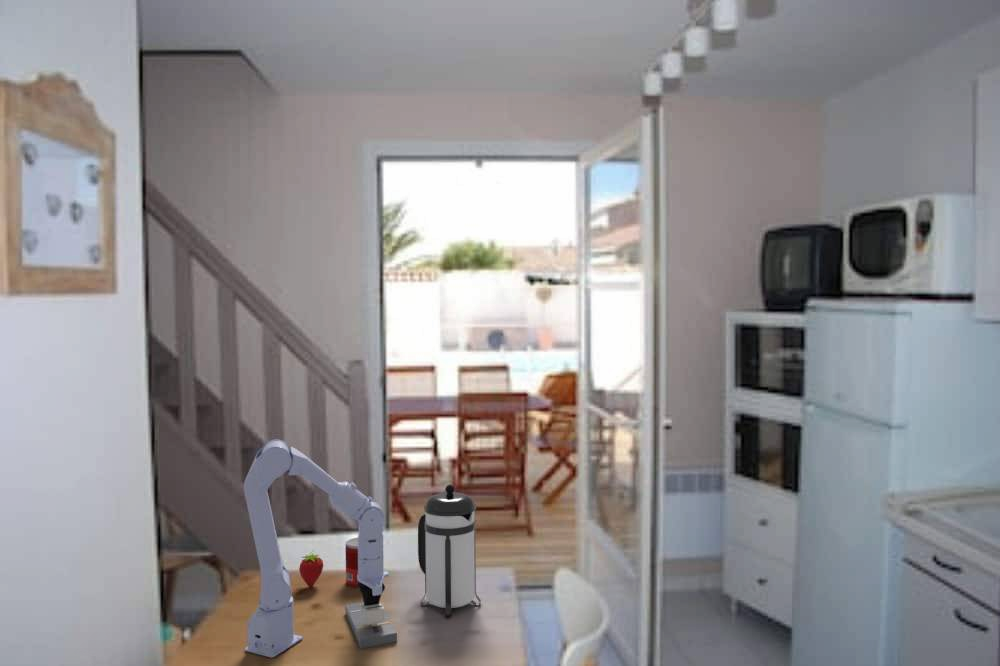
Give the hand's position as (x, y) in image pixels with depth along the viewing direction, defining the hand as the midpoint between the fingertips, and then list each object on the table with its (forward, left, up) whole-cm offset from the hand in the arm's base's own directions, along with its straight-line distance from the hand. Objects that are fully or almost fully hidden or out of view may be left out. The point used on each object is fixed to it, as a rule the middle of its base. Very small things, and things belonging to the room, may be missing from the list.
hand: (371, 614), depth 154 cm
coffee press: (+19, -9, -4) cm, 21 cm away
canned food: (+22, +19, -4) cm, 29 cm away
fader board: (+1, +1, -3) cm, 4 cm away
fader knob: (-2, -2, -1) cm, 3 cm away
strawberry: (+14, +29, -4) cm, 32 cm away
